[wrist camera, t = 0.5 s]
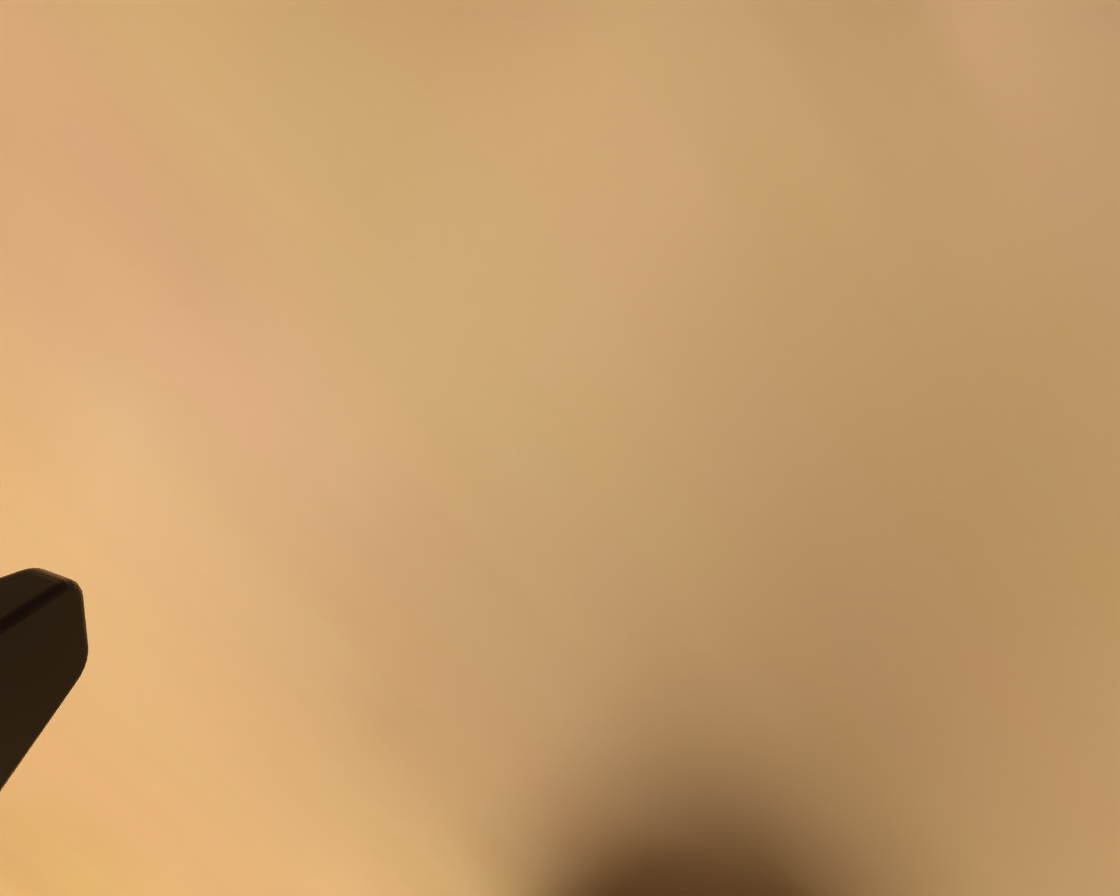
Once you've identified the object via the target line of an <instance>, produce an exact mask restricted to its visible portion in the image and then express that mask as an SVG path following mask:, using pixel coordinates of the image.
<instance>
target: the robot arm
mask: <svg viewBox="0 0 1120 896" xmlns="http://www.w3.org/2000/svg"><path fill="white" fill-rule="evenodd" d="M87 656H88V640H87V630H86V620H85V610H84V601H83V594H82V590H81V588H80V587H79V585H78V584H77V583H76V582H75V581H73V580H71V579H69V578H66V577H63V576H60V575H58V574H55V573H52V572H50V571H47V570H44V569H40V568H30V569H25V570H21V571H18V572H15V573H13V574H10V575H7V576H4V577H1V578H0V791H1V789H2V788H3V787H4V785H5V784H6V782H7V781H8V779H9V778H10V777H11V775H12V774H13V772H14V771H15V769H16V768H17V767H18V765H19V764H20V762H21V761H22V759H23V758H24V756H25V755H26V754H27V752H28V751H29V749H30V748H31V746H32V745H33V744H34V742H35V741H36V739H37V738H38V736H39V735H40V734H41V732H42V731H43V729H44V728H45V726H46V725H47V723H48V722H49V721H50V719H51V718H52V716H53V715H54V713H55V712H56V711H57V709H58V708H59V706H60V705H61V703H62V702H63V701H64V699H65V698H66V696H67V695H68V693H69V692H70V690H71V689H72V688H73V686H74V685H75V683H76V682H77V680H78V679H79V677H80V675H81V673H82V671H83V669H84V667H85V664H86V661H87Z"/></svg>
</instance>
